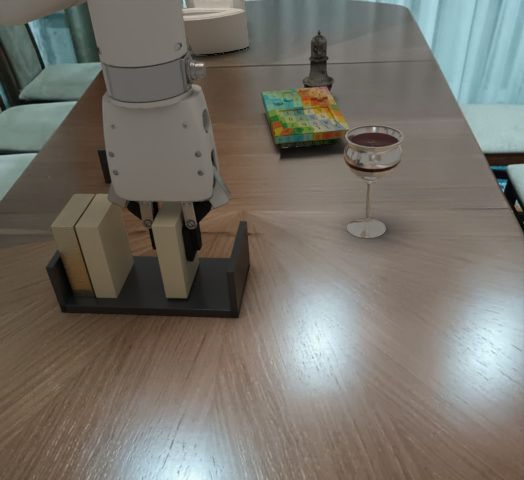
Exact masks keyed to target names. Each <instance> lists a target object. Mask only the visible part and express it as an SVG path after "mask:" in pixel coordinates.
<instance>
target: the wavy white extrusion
mask: <svg viewBox="0 0 524 480" xmlns="http://www.w3.org/2000/svg"><path fill="white" fill-rule="evenodd" d="M184 2H185V5H186V8H182V10H183V18H184V26H185V35H186V40H187V41H188V44H189V46H190V48H191V50H192V52H193V54H194V55H195V54H206V53H215V52H222V51H228V50H233V49H238V48H243V47H246V46H249V47H250V40H249V39H250V38H249V32H248V31H249V29H248V19H247V18H248V17H247V11H246V3H245V0H184Z"/></svg>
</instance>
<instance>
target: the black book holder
mask: <svg viewBox="0 0 524 480" xmlns="http://www.w3.org/2000/svg"><path fill="white" fill-rule="evenodd" d="M107 197H108V193H96V194H95V193H73V195H72V196H71V197H70V199H69V201H68V202H67V203H66V204H65V205H64V207H63V208H62V210H61V211H60V213H59V214H58V215H57V217H56V218H55V219H54V221H53V222H52V224H51V225H50V230H51V232H52V235H53V238H54V241H55V244H56V247H57V250H56V251H55V252H54V254H53V256H52V257H51V258H50V260H49V261H48V263H47V264H46V266H45V271H46V273H47V275H48V279H49V281H50V285H51V287H52V290H53V292H54V295H55V298H56V300H57V302H58V306H59V309H60V311H61V313H84V314H85V313H86V314H112V315H113V314H118V315H146V316H147V315H148V316H174V317H202V318H203V317H207V318H210V317H211V318H234V319H236V318H237V319H239V318H240V314H241V308H242V305H243V300H244V295H245V291H246V285H247V282H248V278H249V273H250V269H251V268H250V267H251V258H250V245H249V233H248V232H249V230H248V221H247V220H240V221H239V224H238V227H237V231H236V235H235V237H234V243H233V245H232V248H231V253H230V256H229V257H200V256H198V257H199V265H198V268H197V271H196V274H195V277H194V280H193V283H192V286H191V289H190V292H189V295H188V298H166V294H165V289H164V284H163V279H162V275H161V270H160V265H159V260H158V256H151V255H150V256H149V255H147V256H146V255H145V256H144V255H133V253H132V249H131V248H132V247H131V244H130V240H129V236H128V232H127V228H126V223H125V219H124V215H123V211H122V207H120V206H118V205H115V204H113V203H111V202H109V201H108V199H107Z"/></svg>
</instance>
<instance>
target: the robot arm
mask: <svg viewBox="0 0 524 480" xmlns="http://www.w3.org/2000/svg"><path fill="white" fill-rule="evenodd" d="M84 3H87V9H88V12H89V17H90V21H91V25H92V30H93V34H94V40H95V44H96V48H97V52H98V56H99V61H100V66H101V71H102V75H103V79H104V83H105V88H106V91H105V93H103V95H102V97H101V106H102V107H101V108H102V111H101V112H102V126H103V129H102V130H103V138H104V140H103V141H104V148H106V155H107V161H108V166H109V172H110V176H111V183H109V184H110V185H109V188H108V192H107V194H108V197H107V199H108V201H109V202H111V203H113V204H115V205H118V206H120V207H121V208H123V209H127V210H128V212H130V213H131V214H132V215H134V216H135V217H136V218H138V219H139V220H140V221H141V223H142V225H143V227H144V228H146V229H147V230H148V233H149V238H150V243H151V247H152V250H153V251H157V250H156V245H155V241H154V236H153V231H152V224H153V222H154V220H155V218H156V216H157V213H158V211H159V209H160V207H161V205H160V203H161V202H162V203H163V202H181V206H182V211H183V215H184V226H183V229H182V236H183V242H184V248H185V254H186V260H188V262H193V261H194V258H195V255H196V252H197V251H201V250H202V246H203V240H202V239H203V238H202V233H201V225H200V222H202V220H203V219H204V218H205V217H206V216H208V215H209V213H210V212H211V211H212V210H217V209H218V208H220V207H224V206H225V205H227V204H228V203H229V202H230V199H231V197H232V193H231V191H230V189H229V188H228V186H227V184H226V182H225V181H224V179H223V178H222V176H221V174H220V166H219V165H220V164H219V158H218V152H217V145H216V141H215V137H214V135H215V134H214V130H213V126H212V121H211V116H210V112H209V108H208V104H207V101H206V98H205V94H204V91H203V88H202V87H201V85H199V84H193V83H194V82H195V81H198V80H205V79H207V64H206V62H205V61H197V60H196V59H193V57H192V56H191V50H188V43H187V37H186V35H185V26H184V18H183V10H182V9H183V5H182V4H183V3H182V0H0V25H1V26H6V27H16V26H17V27H19V26H22V25H26V24H29V23H31V22H34V21H37V20H39V19H42V18H45V17H48V16H50V15H53V14H55V13H58V12H61V11H64V10H67V9H71V8H74V7H76V6H79V5H82V4H84Z"/></svg>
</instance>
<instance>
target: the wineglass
mask: <svg viewBox="0 0 524 480" xmlns="http://www.w3.org/2000/svg"><path fill="white" fill-rule="evenodd" d="M345 137H346V138H345V140H346V142H347V143H346V144H345V146H344V150H343V160H344V162H345V165H346V167H347V168H346V169H347V170H349V172H351V174H353V175H354V176H355V177H356V178H358V179H360V180H363V181H364V183H366V195H365V196H366V199H365V217H361V218H355V219H353V220H351V221H350V222H349V223H348V224H347V226H346V230H347V232H348V233H349V234H350V235H352V236H353V237H356V238H362V239H375V238H378V237H380V236H382V235H384V234H385V232H386V230H387V228H386V225H385V224H384V223H383V222H382V221H380V220H378V219H375V218H370V213H371V204H372V198H373V189H374V184H375V183H376V182H377V181H381V180H383V179H386V178H387V177H389V176H390V175H391V174H392V173H394V172H395V171H396V170H397V169H398V167H399V165H400V163H401V161H402V158H403V157H402V155H403V147H402V145H401V143H402V142H403V140H404V137H405V136H404V133H403V132H402V131H401V130H399V129H397V128H395V127H392V126H389V125H383V124H365V125H359V126H355V127H353V128H350V130H349V131H348V132H346V135H345Z"/></svg>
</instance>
